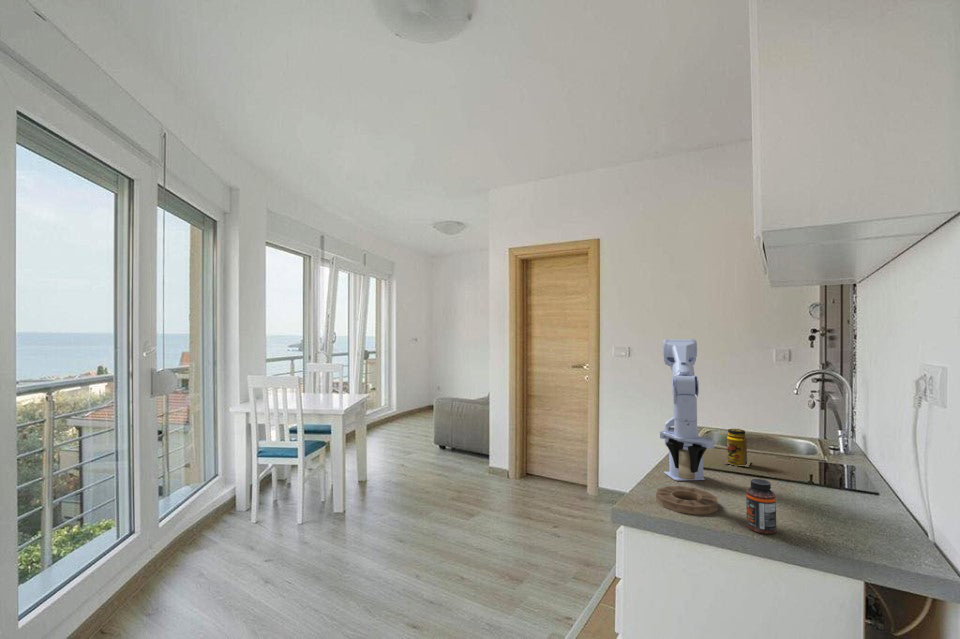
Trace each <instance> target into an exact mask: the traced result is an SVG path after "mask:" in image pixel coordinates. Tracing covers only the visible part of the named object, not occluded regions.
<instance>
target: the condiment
mask: <svg viewBox="0 0 960 639" xmlns="http://www.w3.org/2000/svg"><path fill="white" fill-rule="evenodd" d="M747 445H748V441H747V438H746V431H745V430H744V429H740V428H728V430H727V436H726V447H727V448H726V453H727V454H726V455H727V456H726V458H727V460H726V462H727V461H728V463H730V464H733V465H746V464H747V462H748V446H747Z"/></svg>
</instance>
